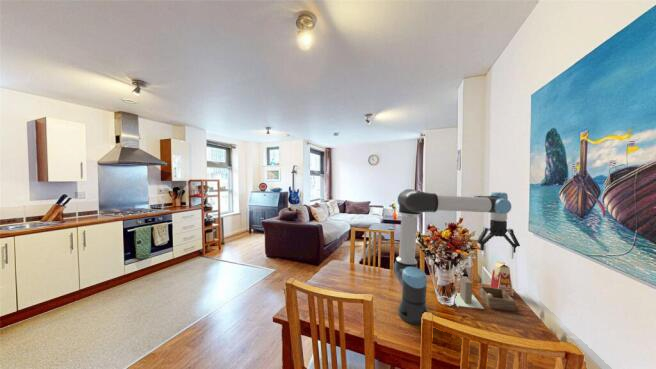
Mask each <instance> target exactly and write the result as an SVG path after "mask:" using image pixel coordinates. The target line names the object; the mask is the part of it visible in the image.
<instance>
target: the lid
mask: <svg viewBox="0 0 656 369" xmlns="http://www.w3.org/2000/svg"><path fill="white" fill-rule="evenodd" d="M461 276H462V275H461ZM459 286H460V291H459V292H456V293H457V296H456V298H455V302H454V304H455V305H456V307H457V308H459V307H464V308H473V309H481V310H485V307H483V305H482V304H481V302H480V301H478V299H477V298H476V297H475V295H474V294H473V282H472V281H471V280H470V279H469V277H468V276H464V275H463V276H462V278H461V277H460V285H459Z"/></svg>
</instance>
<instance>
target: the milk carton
mask: <svg viewBox="0 0 656 369" xmlns="http://www.w3.org/2000/svg"><path fill="white" fill-rule="evenodd" d="M505 263H506V262H504V261H503V262H501V261H499V260H496V263H495V264H494V265H493V269H492V273H491V279H490V285H489V286H490V287H491V288H500V289H503V290H504V291H505V292H506V293H507V294H508V295H509V296H510V297H511V296H512V297H514V292H513V285H512V279H511V278H512V277H511V270H510V267H509V266H508V265H506V264H505Z"/></svg>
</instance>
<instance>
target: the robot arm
mask: <svg viewBox="0 0 656 369" xmlns="http://www.w3.org/2000/svg"><path fill="white" fill-rule="evenodd" d="M508 198H509V197H508V193H506V192H501V191H498V192H495V191H494V192H491V194H490V195H470V196H457V195H454V196H453V195H438V194H437V193H432V192H425V191H421V190H417V189H411V188H407V189H403V190H402V191H400V192H399V194H398V195H397V203H398V206H399V207H398V209H399V210H398V213H399V214H400V215H401V217H400V220H401V221H400V233H399V249H398V251H399V252H398V256H397V257H395V262H394V264H393V268H392V269H393V270H392V271H393V274H394V276H395V278H396V279H397V280H398V282H399V284H400V285H401V300H400V303H399V306H398V309H397V310H398V312H397V314H398V316H399V318H401V320H403V321H404V322H407V323H409V324H411V325H418V326H422V325H421V317H422V314H423V313H424V312H429V313H430V311H429V308H428V305H427V284H428V278H427V274H426V272H425V271H424V270H423V269H421V268H419V267H418V260H417V259H416V258H415V257H416V246H417V244H416V242H417V231H418V230H417V229H418V228H417V226H418V217H419V216H420V215H421V213H436V212H438V211H445V212H473V213H490V217H489V218H490V220H489V222H490V223H489V226H490V227H485V226H484V227H483V231H482V232H481V234H479V236H478V238H477V240H476V243H478V244H480V249H479V250H480V251H481V255H482V257H484V258H486V255H487V254H486V252H487V251H486V249H487V248H486V247H487V246H486V244H487V242H489V241H490V240H491V239H492V238H494V237H501V238H502V237H503V238H504V239H505V240H506V241H507V242H508V243H509V244H510V245H509V248H508V250H509V252H508V253H509V255H508V257H509V258H510V259H511V260H514V254H516V249H517V247H520V246H521V245H520V243H519V241H518V239H517V237H516V235H515V230H514V229H512V228H511V227H510V228H507V226H508V221H507V220H508V213H510V211H511V210H512V203H511V201H510V200H509V199H508ZM488 232H489V233H488ZM487 233H488V235H487ZM507 233H508V234H509V235H510V237H511V238H510V237H509V236H508V234H507Z"/></svg>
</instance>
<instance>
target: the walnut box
mask: <svg viewBox="0 0 656 369" xmlns="http://www.w3.org/2000/svg"><path fill="white" fill-rule="evenodd" d="M487 293H490V294H492V296H493V298H491V297H490V296H489V295H488V294H487ZM478 295H479V296H480V298H481V299H482V300H483V303H485V305H486V306H487V307H488V308H490V309H498V310H505V311H513V312H515V311H516V300H515V299H514V298H512V297H511V296H509V295H508V294H507V293H506V292H505V291H504V290H503V289H500V288H491V287H489V286H483V285H482V286H481V285H480V286H478Z"/></svg>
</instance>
